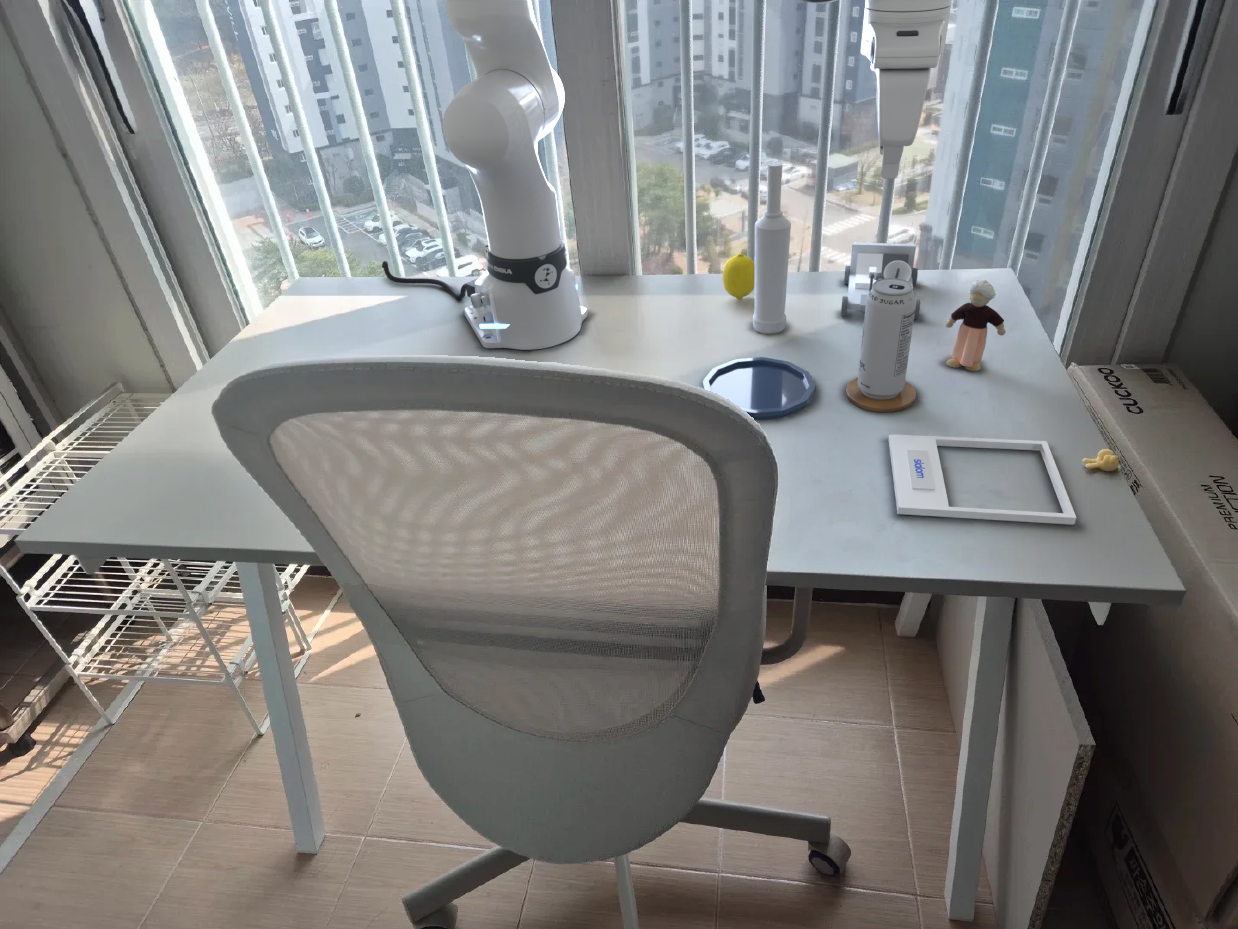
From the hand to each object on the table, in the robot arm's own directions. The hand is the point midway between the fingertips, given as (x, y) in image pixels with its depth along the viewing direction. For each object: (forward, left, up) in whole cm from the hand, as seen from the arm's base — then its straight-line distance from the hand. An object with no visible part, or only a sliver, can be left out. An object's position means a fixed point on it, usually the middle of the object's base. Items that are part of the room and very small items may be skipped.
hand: (887, 164), depth 101 cm
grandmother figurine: (+6, +14, -30) cm, 33 cm away
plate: (-7, -13, -29) cm, 33 cm away
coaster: (+4, -1, -29) cm, 30 cm away
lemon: (-32, +4, -30) cm, 44 cm away
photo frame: (+24, -7, -30) cm, 39 cm away
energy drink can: (+4, -1, -29) cm, 29 cm away
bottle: (-21, +1, -30) cm, 36 cm away
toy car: (-16, +20, -30) cm, 39 cm away
